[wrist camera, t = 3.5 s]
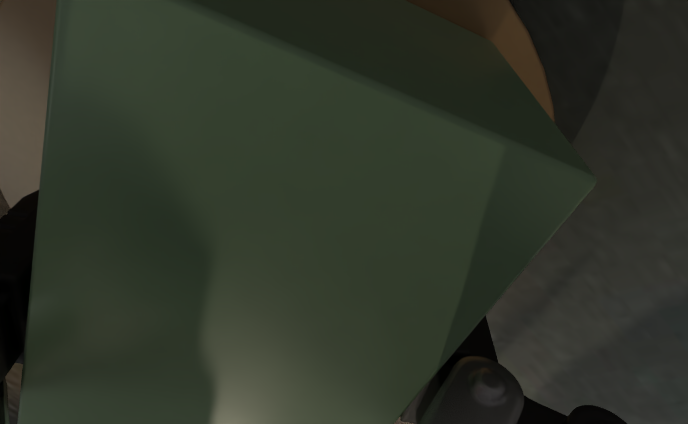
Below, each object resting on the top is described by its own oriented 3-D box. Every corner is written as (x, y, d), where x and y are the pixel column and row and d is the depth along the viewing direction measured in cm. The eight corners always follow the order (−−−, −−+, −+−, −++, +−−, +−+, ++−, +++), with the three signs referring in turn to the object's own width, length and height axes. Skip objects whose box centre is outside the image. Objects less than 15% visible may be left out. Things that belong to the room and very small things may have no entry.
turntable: (159, -354, 8) (138, -379, 8) (662, 148, 13) (682, 166, 13) (-62, 208, 15) (-87, 227, 15) (325, 404, 20) (324, 426, 19)
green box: (210, -94, 10) (41, -57, 5) (496, 43, 11) (613, 191, 6) (116, 307, 16) (0, 511, 11) (304, 364, 17) (280, 570, 12)
